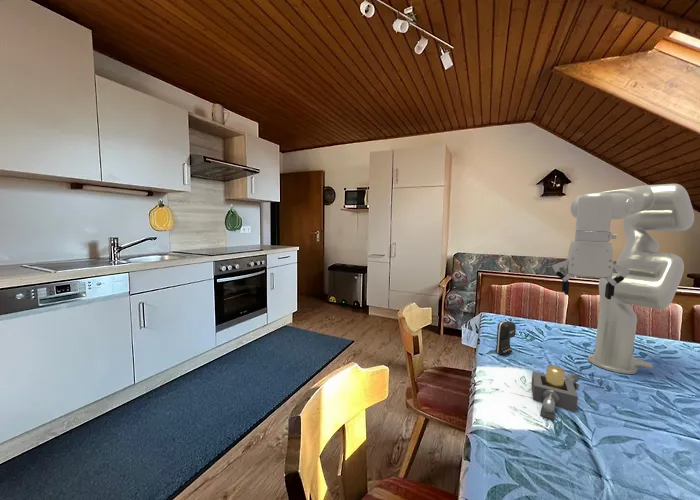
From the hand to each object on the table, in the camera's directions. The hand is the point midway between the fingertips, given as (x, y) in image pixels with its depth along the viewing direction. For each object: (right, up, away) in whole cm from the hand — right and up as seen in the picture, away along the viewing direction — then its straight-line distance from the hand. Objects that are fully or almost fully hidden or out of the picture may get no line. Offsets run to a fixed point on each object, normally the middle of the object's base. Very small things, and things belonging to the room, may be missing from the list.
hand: (586, 296), depth 85 cm
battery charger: (-12, -24, +22) cm, 35 cm away
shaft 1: (-20, -27, -13) cm, 35 cm away
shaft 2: (-7, -26, -2) cm, 27 cm away
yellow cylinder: (-14, -26, -6) cm, 30 cm away
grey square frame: (-14, -26, -6) cm, 31 cm away
